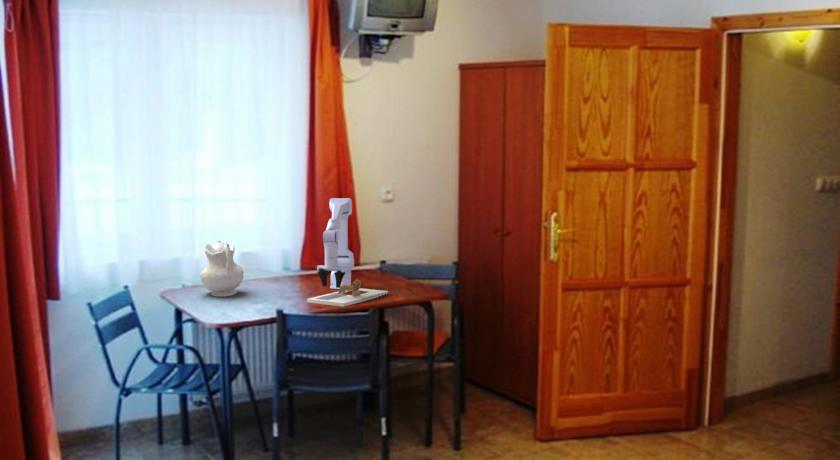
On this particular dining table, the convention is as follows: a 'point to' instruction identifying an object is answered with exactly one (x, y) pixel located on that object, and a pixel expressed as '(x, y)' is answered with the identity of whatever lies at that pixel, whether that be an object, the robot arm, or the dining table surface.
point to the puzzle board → (340, 298)
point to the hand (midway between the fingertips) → (331, 286)
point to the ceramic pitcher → (221, 270)
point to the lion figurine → (350, 287)
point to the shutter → (368, 294)
